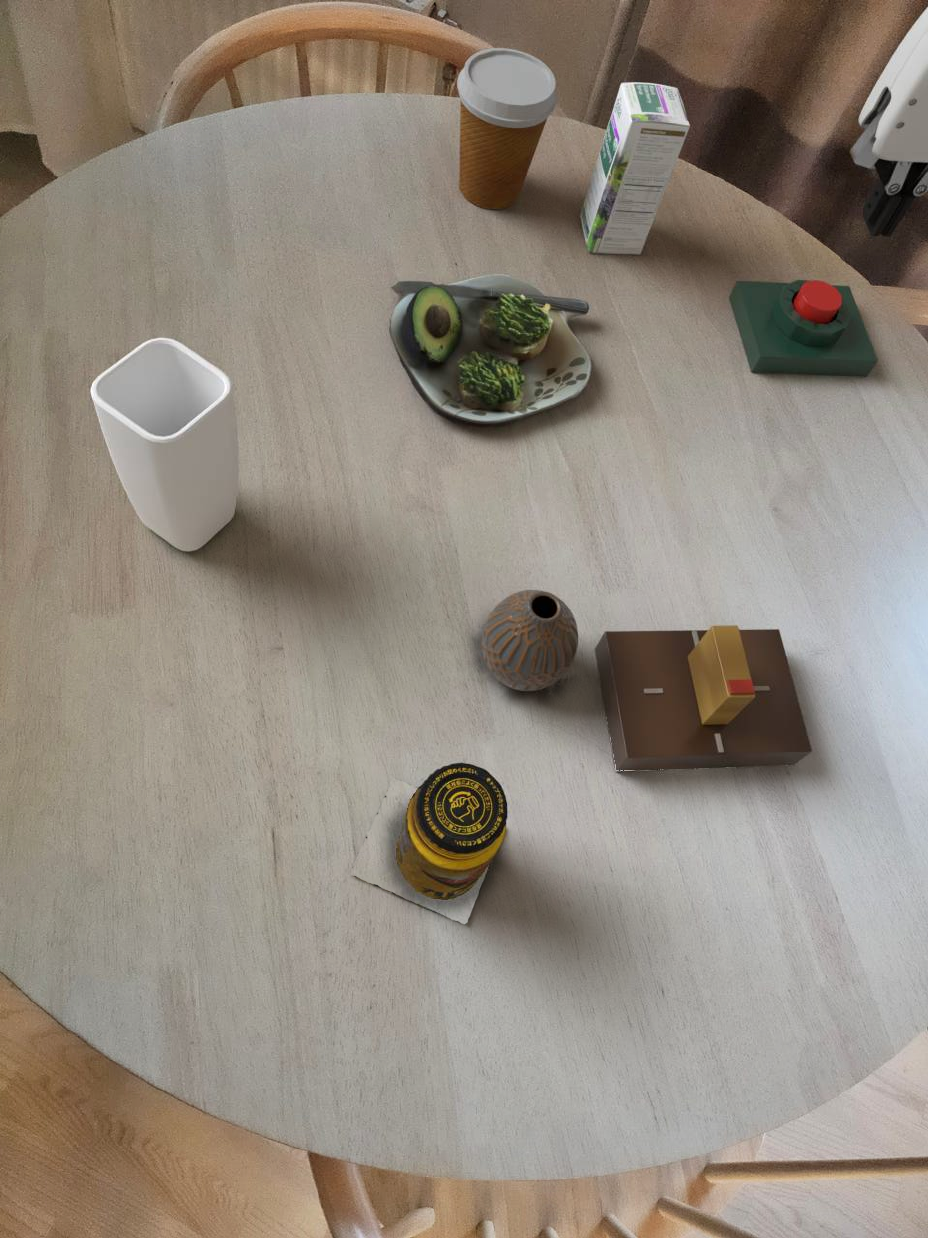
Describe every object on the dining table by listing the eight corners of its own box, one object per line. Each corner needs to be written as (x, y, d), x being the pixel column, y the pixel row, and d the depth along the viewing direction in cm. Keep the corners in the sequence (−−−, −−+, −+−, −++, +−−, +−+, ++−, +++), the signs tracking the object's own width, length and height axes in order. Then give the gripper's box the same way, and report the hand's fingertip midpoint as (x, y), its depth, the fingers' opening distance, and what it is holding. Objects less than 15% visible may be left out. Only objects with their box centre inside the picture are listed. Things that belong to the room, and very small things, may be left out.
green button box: (838, 302, 97) (858, 271, 93) (866, 377, 92) (888, 347, 89) (728, 297, 95) (744, 265, 91) (751, 373, 90) (768, 342, 87)
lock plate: (763, 646, 76) (780, 627, 73) (794, 765, 71) (813, 750, 68) (594, 649, 73) (605, 630, 71) (615, 772, 69) (627, 757, 66)
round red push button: (827, 294, 92) (835, 280, 90) (838, 325, 90) (847, 311, 88) (788, 292, 91) (796, 278, 89) (799, 323, 89) (807, 309, 88)
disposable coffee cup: (503, 234, 95) (527, 122, 84) (425, 189, 96) (438, 74, 86) (551, 187, 99) (579, 76, 89) (475, 146, 101) (494, 31, 90)
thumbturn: (686, 656, 71) (712, 623, 66) (712, 656, 71) (739, 623, 66) (701, 725, 68) (729, 696, 64) (728, 724, 68) (757, 695, 64)
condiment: (466, 927, 62) (497, 884, 52) (348, 875, 63) (355, 823, 52) (504, 826, 66) (540, 768, 55) (392, 778, 66) (407, 711, 56)
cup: (186, 464, 76) (160, 327, 63) (256, 513, 75) (243, 384, 62) (119, 521, 73) (77, 389, 60) (190, 573, 72) (163, 450, 59)
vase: (517, 721, 70) (543, 670, 62) (456, 654, 72) (474, 596, 64) (583, 669, 72) (614, 615, 65) (522, 606, 74) (546, 546, 67)
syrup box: (577, 215, 98) (617, 78, 85) (632, 217, 99) (679, 83, 86) (587, 254, 95) (629, 119, 82) (643, 256, 96) (693, 123, 83)
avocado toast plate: (544, 261, 94) (554, 222, 90) (635, 393, 87) (650, 357, 83) (363, 304, 87) (365, 264, 83) (446, 449, 81) (453, 414, 77)
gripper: (1079, -21, 69) (940, 200, 85) (887, -36, 67) (782, 193, 82) (1122, 40, 65) (969, 258, 81) (921, 26, 63) (805, 253, 79)
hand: (875, 225), depth 82 cm, fingers closed
